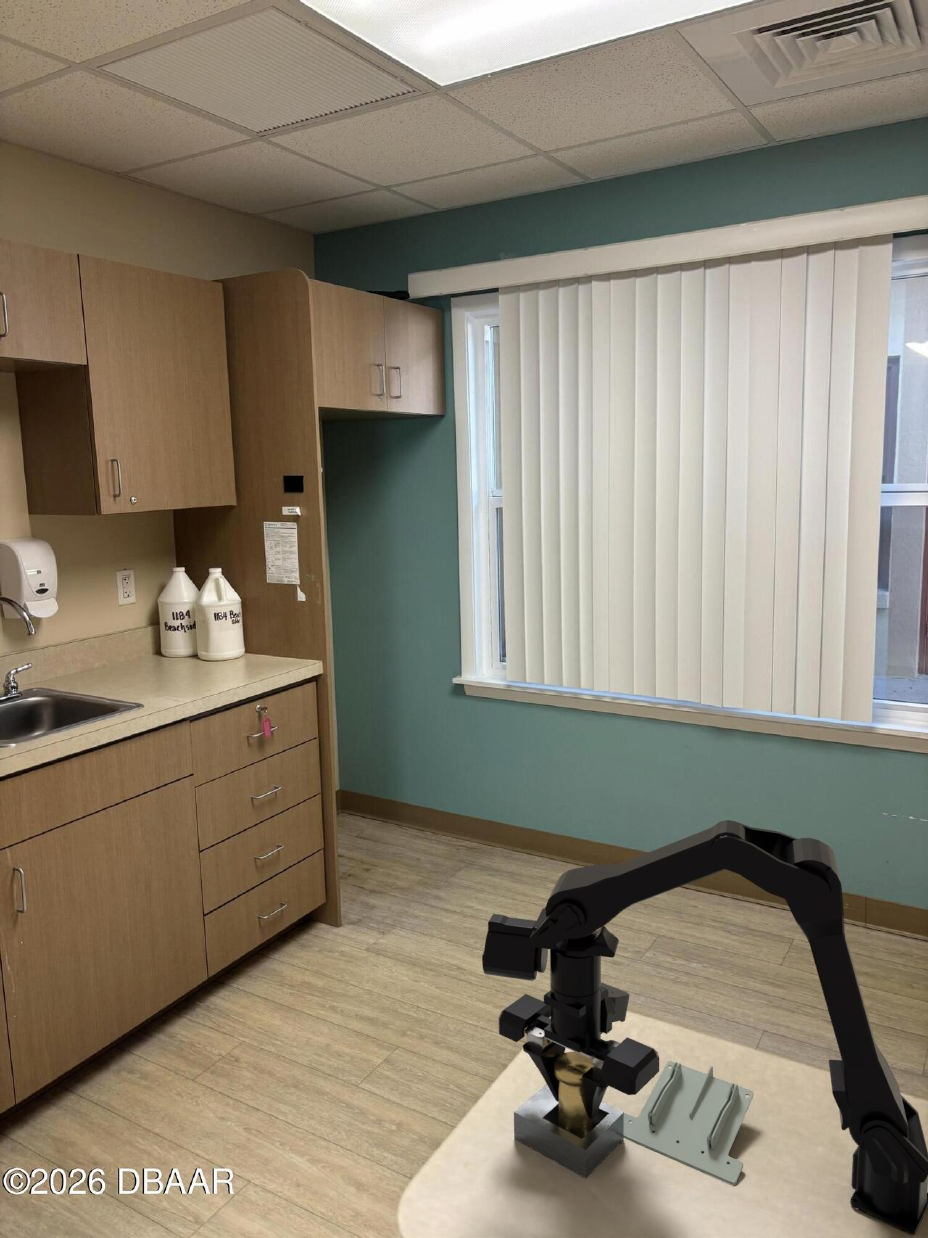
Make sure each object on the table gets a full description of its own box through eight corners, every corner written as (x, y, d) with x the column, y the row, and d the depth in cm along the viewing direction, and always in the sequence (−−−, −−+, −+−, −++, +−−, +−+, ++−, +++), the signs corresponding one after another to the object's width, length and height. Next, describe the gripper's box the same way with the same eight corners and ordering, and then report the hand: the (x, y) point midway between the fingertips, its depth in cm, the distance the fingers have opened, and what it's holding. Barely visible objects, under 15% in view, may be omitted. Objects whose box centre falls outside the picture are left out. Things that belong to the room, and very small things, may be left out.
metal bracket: (655, 1039, 121) (772, 1081, 112) (660, 1072, 123) (775, 1116, 114) (604, 1129, 111) (729, 1183, 102) (611, 1164, 113) (734, 1219, 104)
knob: (605, 1125, 110) (606, 1063, 109) (581, 1149, 107) (581, 1084, 105) (570, 1107, 114) (570, 1046, 112) (545, 1129, 110) (545, 1066, 109)
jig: (623, 1139, 111) (623, 1112, 110) (585, 1178, 105) (585, 1150, 104) (553, 1103, 117) (553, 1078, 117) (514, 1138, 111) (513, 1112, 111)
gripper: (684, 981, 107) (682, 1106, 110) (549, 931, 119) (550, 1045, 122) (633, 1025, 99) (632, 1159, 101) (494, 968, 111) (496, 1089, 113)
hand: (576, 1108), depth 110 cm, fingers closed on knob, 4 cm apart
